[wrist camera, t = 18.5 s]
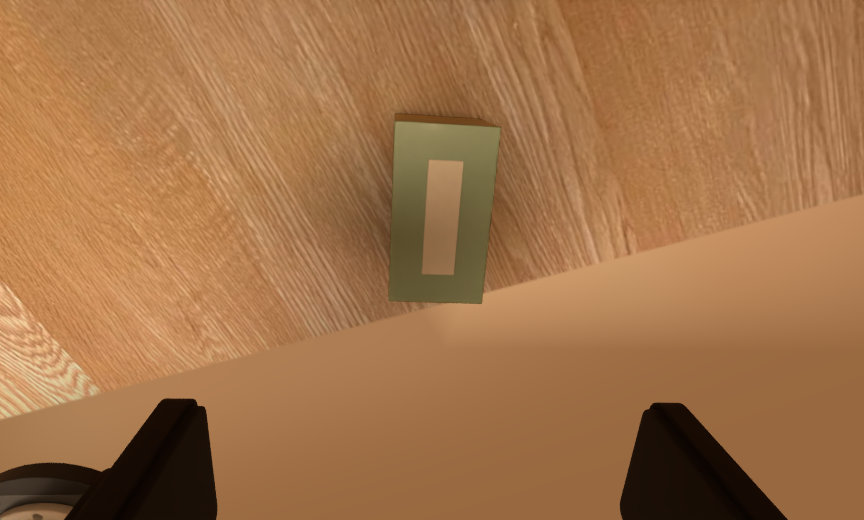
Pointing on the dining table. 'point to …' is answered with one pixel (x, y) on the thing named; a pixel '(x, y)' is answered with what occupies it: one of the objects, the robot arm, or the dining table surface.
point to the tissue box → (441, 207)
